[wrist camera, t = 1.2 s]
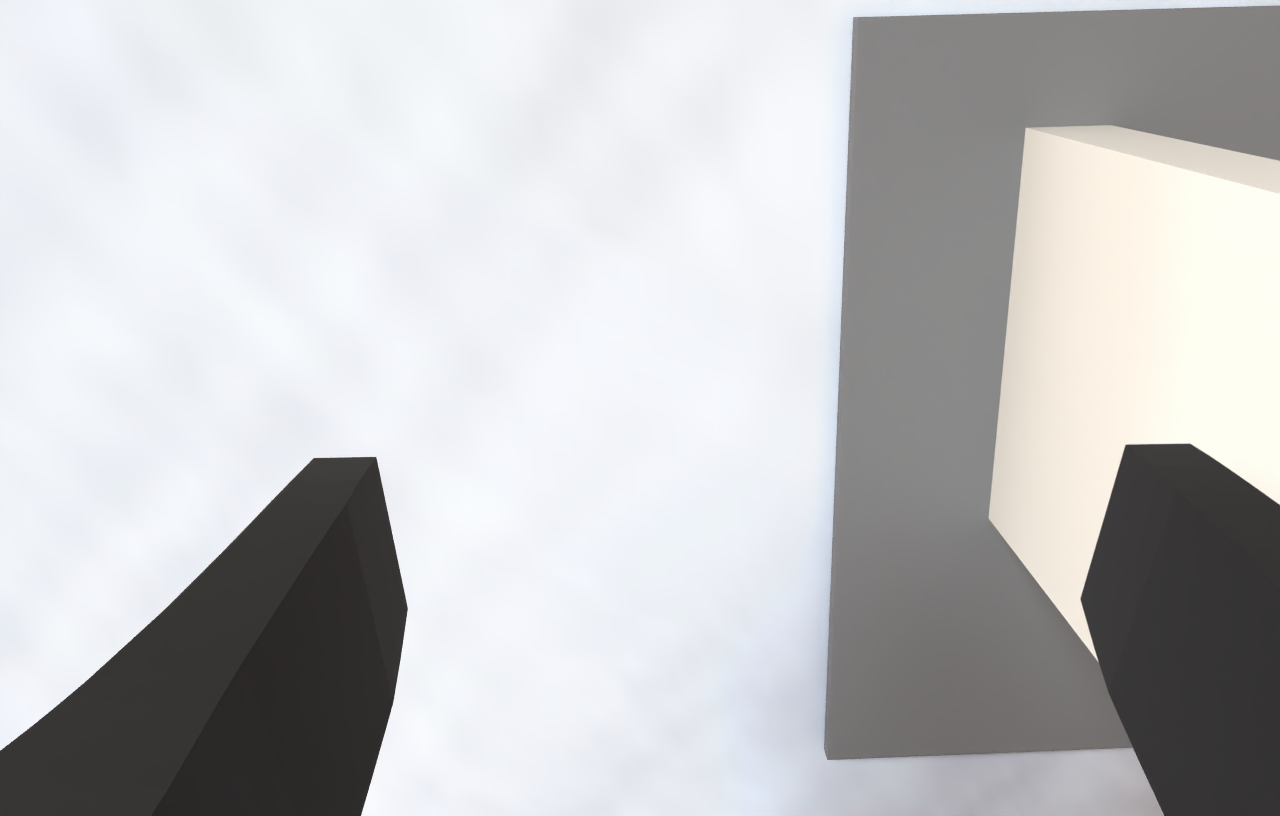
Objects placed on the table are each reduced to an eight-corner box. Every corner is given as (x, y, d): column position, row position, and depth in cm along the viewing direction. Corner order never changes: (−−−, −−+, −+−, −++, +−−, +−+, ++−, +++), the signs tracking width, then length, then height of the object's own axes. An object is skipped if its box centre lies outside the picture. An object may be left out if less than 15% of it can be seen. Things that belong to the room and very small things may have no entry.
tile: (1070, 515, 23) (1402, 869, 13) (988, 518, 23) (1261, 875, 13) (1119, 124, 20) (1580, 221, 10) (1025, 127, 20) (1404, 225, 10)
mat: (1500, 721, 25) (1513, 731, 25) (824, 748, 25) (827, 759, 25) (1716, -7, 20) (1738, -7, 19) (853, 17, 19) (857, 17, 19)
